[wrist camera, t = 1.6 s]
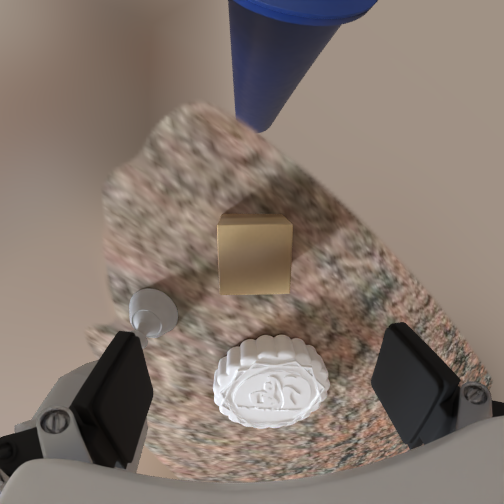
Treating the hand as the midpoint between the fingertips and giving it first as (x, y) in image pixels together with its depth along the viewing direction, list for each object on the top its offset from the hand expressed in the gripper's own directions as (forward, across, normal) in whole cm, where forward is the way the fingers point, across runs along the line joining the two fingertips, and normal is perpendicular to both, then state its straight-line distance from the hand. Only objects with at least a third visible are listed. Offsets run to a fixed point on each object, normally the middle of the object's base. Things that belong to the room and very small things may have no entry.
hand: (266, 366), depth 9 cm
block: (+15, 0, -1) cm, 15 cm away
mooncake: (+15, -2, +14) cm, 21 cm away
